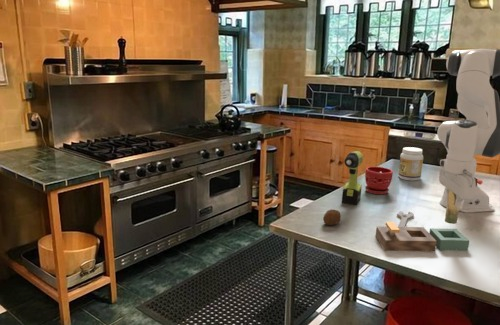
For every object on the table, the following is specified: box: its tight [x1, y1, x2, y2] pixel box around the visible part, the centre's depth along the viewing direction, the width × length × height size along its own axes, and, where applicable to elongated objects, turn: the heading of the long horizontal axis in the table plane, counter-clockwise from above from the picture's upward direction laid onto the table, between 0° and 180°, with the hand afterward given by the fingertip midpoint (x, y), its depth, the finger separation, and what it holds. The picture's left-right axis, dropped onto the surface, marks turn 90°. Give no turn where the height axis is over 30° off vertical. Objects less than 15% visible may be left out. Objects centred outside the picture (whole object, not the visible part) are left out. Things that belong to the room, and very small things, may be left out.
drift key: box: [385, 221, 400, 236], centre depth 151 cm, size 3×7×6 cm, turn 178°
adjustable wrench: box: [396, 211, 415, 227], centre depth 169 cm, size 25×6×2 cm, turn 148°
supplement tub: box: [397, 146, 424, 182], centre depth 230 cm, size 12×12×17 cm
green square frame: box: [428, 227, 470, 252], centre depth 151 cm, size 10×10×4 cm
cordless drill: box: [341, 150, 364, 206], centre depth 188 cm, size 23×7×25 cm, turn 155°
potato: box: [322, 208, 342, 226], centre depth 168 cm, size 7×10×6 cm
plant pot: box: [364, 166, 394, 195], centre depth 207 cm, size 13×13×12 cm
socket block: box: [375, 225, 437, 252], centre depth 151 cm, size 18×12×4 cm, turn 88°
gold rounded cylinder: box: [444, 190, 460, 225], centre depth 147 cm, size 4×4×12 cm
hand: (453, 203), depth 147 cm, fingers closed on gold rounded cylinder, 4 cm apart
